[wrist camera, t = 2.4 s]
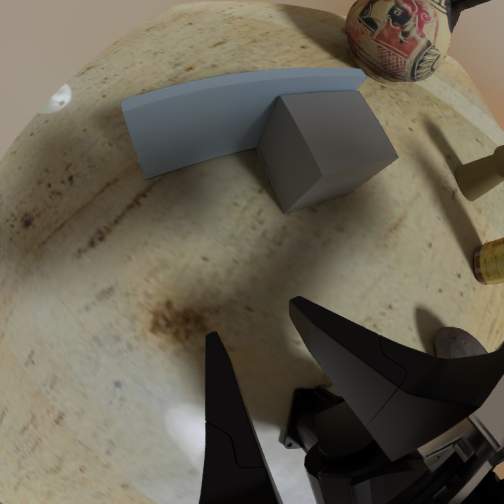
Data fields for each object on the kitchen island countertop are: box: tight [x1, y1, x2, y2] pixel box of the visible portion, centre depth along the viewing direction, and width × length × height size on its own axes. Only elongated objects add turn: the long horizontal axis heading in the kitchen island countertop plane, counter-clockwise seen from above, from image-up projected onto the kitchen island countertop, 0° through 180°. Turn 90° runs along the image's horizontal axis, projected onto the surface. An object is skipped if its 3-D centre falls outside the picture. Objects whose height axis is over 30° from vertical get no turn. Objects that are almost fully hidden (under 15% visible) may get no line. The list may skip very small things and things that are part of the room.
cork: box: [456, 145, 504, 201], centre depth 28 cm, size 6×6×11 cm
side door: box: [121, 68, 367, 180], centre depth 21 cm, size 1×19×10 cm, turn 112°
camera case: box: [256, 91, 399, 214], centre depth 23 cm, size 7×8×8 cm
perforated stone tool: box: [435, 327, 488, 358], centre depth 24 cm, size 15×5×7 cm, turn 43°
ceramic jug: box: [345, 0, 490, 85], centre depth 19 cm, size 17×15×30 cm
